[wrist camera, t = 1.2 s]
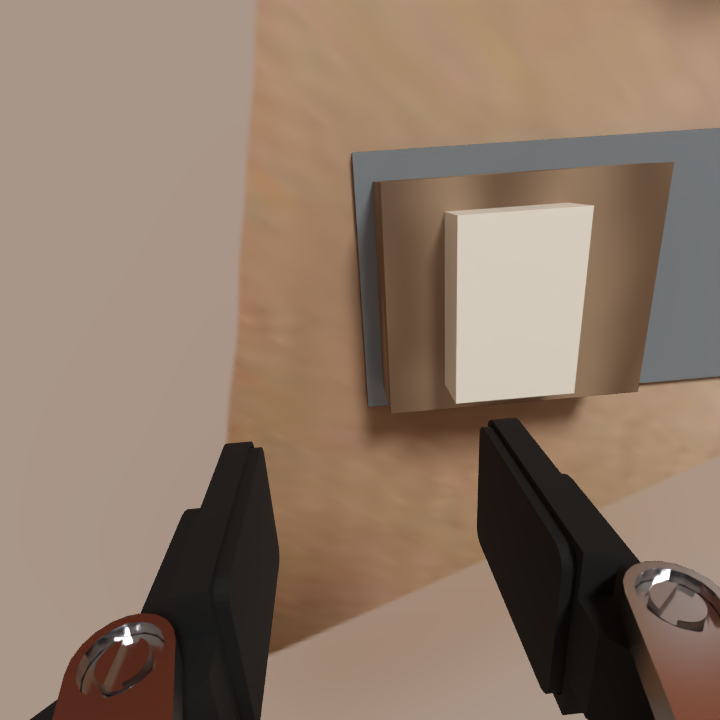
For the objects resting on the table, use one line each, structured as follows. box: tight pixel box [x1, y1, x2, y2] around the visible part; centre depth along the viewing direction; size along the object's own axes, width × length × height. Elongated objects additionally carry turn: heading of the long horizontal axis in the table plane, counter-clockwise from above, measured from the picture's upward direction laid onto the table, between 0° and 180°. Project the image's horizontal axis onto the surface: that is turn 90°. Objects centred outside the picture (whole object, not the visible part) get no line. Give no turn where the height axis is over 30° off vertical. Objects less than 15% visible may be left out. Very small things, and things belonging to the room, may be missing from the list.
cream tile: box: [445, 203, 594, 404], centre depth 23 cm, size 6×9×2 cm, turn 4°
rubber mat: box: [352, 128, 720, 407], centre depth 29 cm, size 30×15×1 cm, turn 94°
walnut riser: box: [373, 162, 674, 414], centre depth 27 cm, size 14×12×4 cm
